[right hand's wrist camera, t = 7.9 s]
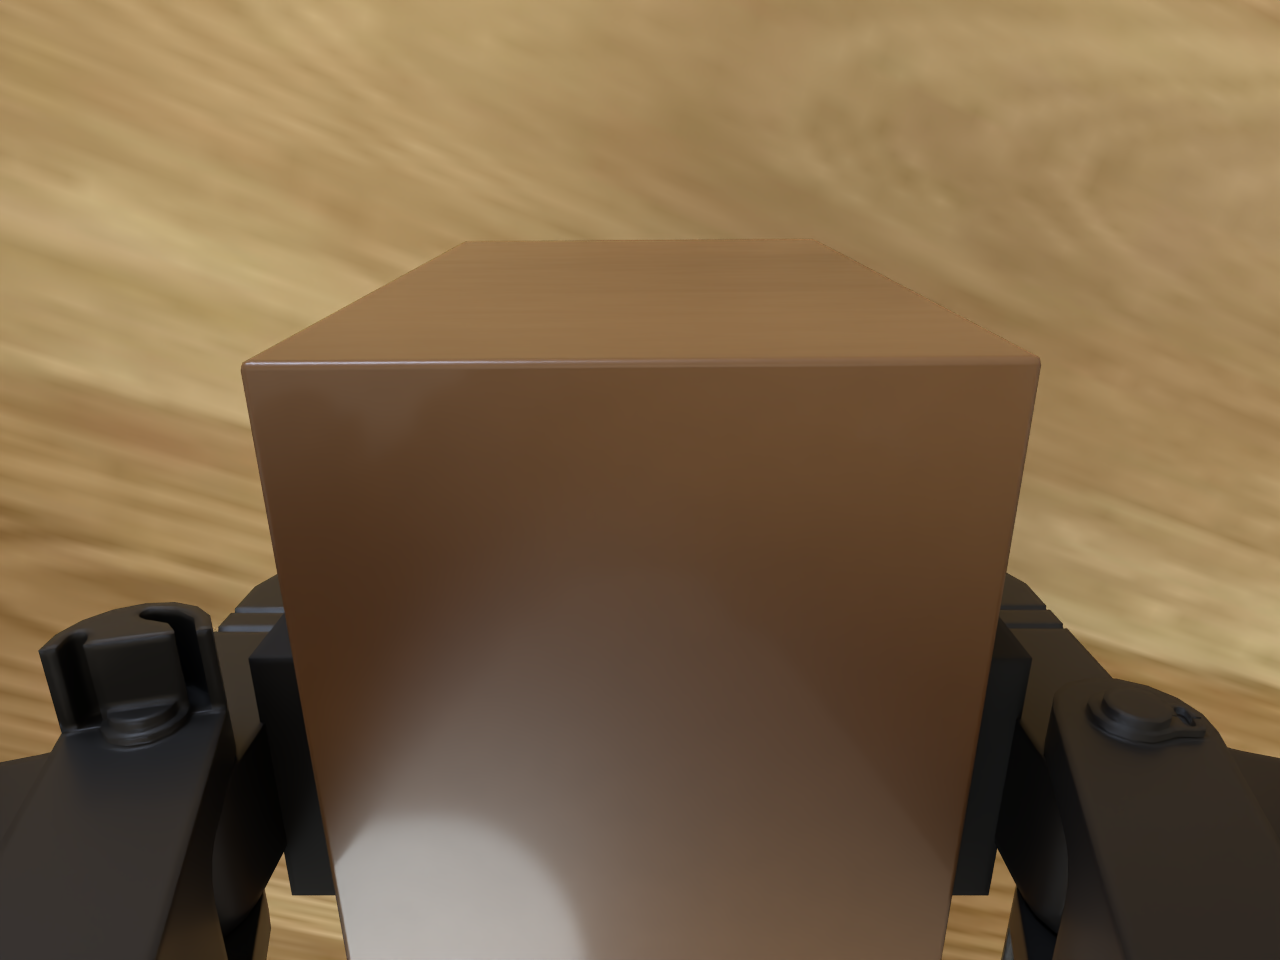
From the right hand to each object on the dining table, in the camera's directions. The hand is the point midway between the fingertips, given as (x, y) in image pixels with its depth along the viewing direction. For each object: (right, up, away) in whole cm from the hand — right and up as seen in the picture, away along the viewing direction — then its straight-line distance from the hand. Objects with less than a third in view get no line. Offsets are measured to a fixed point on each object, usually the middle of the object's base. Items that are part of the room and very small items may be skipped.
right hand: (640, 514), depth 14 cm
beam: (0, -23, +10) cm, 25 cm away
